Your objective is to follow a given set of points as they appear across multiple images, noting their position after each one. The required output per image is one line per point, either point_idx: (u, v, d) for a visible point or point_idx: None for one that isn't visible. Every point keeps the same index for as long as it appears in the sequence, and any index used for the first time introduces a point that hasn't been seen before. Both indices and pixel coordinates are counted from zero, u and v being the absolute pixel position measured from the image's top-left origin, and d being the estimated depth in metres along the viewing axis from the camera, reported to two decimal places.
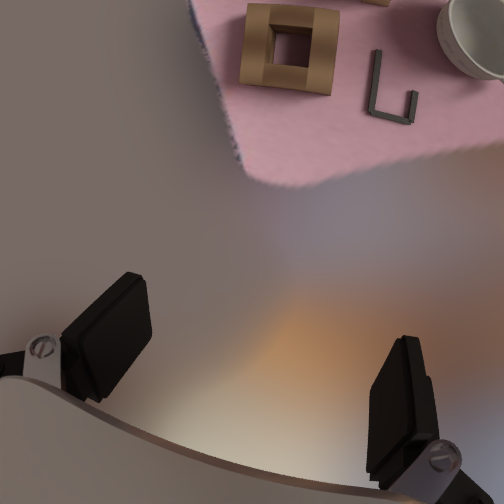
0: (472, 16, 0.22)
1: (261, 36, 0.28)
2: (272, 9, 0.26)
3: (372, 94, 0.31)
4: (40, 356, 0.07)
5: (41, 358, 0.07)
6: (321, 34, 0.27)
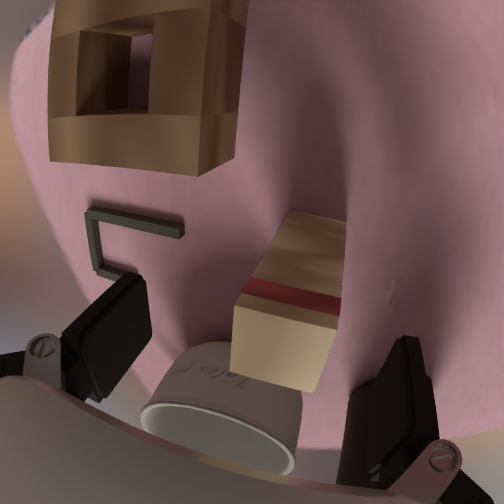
0: None
1: (127, 6, 0.10)
2: (193, 13, 0.10)
3: (108, 216, 0.20)
4: (40, 356, 0.07)
5: (41, 358, 0.07)
6: (135, 135, 0.13)
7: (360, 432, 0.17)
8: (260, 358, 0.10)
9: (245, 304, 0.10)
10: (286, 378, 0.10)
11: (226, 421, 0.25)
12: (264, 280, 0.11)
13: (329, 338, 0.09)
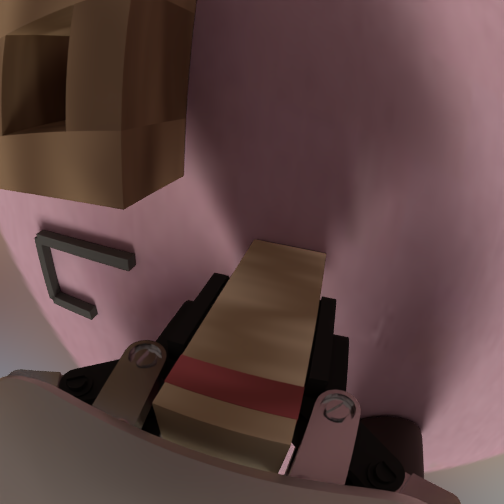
0: None
1: (48, 1, 0.07)
2: None
3: (56, 242, 0.17)
4: (138, 363, 0.08)
5: (137, 367, 0.08)
6: (56, 158, 0.10)
7: None
8: None
9: (167, 402, 0.06)
10: None
11: None
12: (199, 360, 0.08)
13: (281, 450, 0.06)
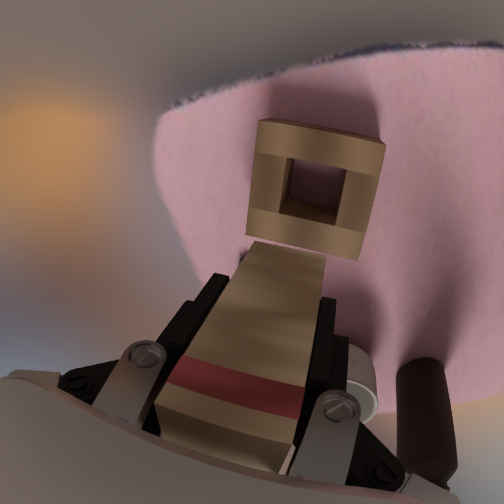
0: None
1: (328, 157, 0.23)
2: (369, 178, 0.23)
3: None
4: (138, 363, 0.08)
5: (137, 366, 0.08)
6: (324, 235, 0.26)
7: (409, 390, 0.30)
8: None
9: (169, 401, 0.06)
10: None
11: None
12: (201, 360, 0.08)
13: (282, 450, 0.06)
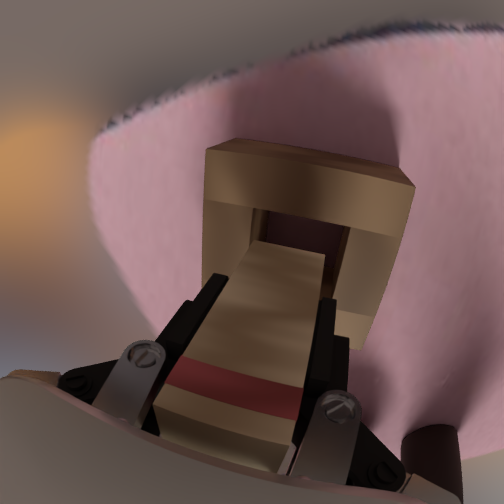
0: None
1: (319, 208, 0.14)
2: (386, 240, 0.14)
3: None
4: (137, 363, 0.08)
5: (136, 366, 0.08)
6: None
7: (416, 467, 0.22)
8: None
9: (167, 403, 0.06)
10: None
11: None
12: (199, 361, 0.08)
13: (280, 451, 0.06)
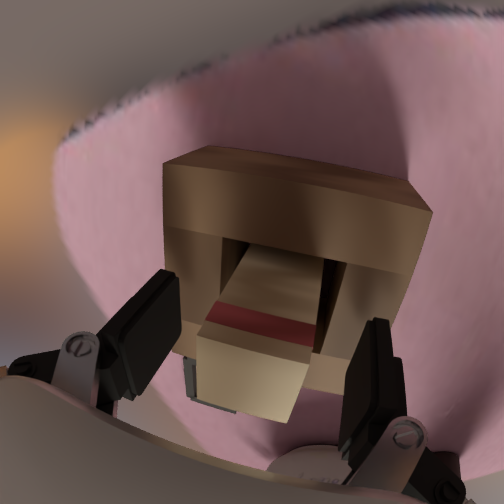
0: None
1: (307, 238, 0.11)
2: (392, 278, 0.11)
3: None
4: (76, 354, 0.08)
5: (76, 357, 0.07)
6: None
7: None
8: (227, 388, 0.09)
9: (208, 334, 0.09)
10: (256, 408, 0.09)
11: None
12: (231, 305, 0.10)
13: (301, 372, 0.08)
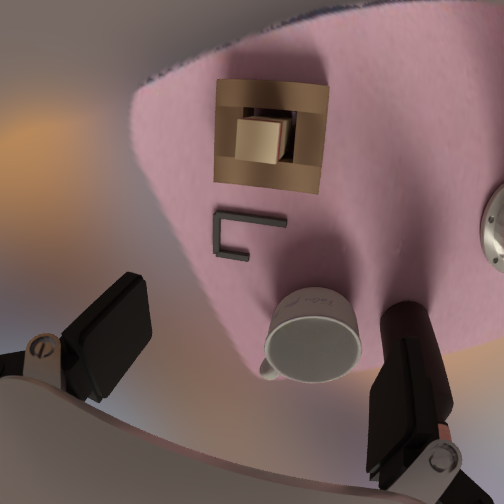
0: None
1: (279, 102, 0.25)
2: (318, 116, 0.25)
3: (234, 216, 0.35)
4: (40, 356, 0.07)
5: (41, 358, 0.07)
6: (284, 173, 0.28)
7: (393, 332, 0.33)
8: (249, 146, 0.23)
9: (242, 119, 0.23)
10: (261, 156, 0.23)
11: (304, 349, 0.40)
12: (249, 118, 0.24)
13: (277, 128, 0.22)
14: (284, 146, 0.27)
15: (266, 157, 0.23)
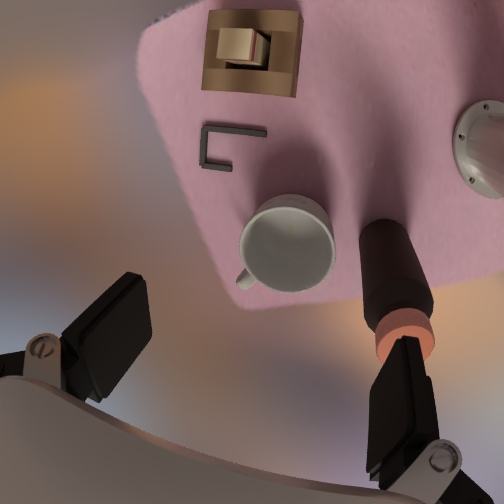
0: (321, 236, 0.40)
1: (257, 24, 0.27)
2: (289, 33, 0.27)
3: (219, 128, 0.37)
4: (40, 356, 0.07)
5: (41, 358, 0.07)
6: (261, 79, 0.30)
7: (369, 240, 0.34)
8: (228, 46, 0.25)
9: (223, 28, 0.24)
10: (237, 53, 0.25)
11: (282, 264, 0.41)
12: None
13: (250, 32, 0.24)
14: (261, 58, 0.29)
15: (241, 54, 0.25)
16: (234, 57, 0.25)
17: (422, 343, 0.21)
